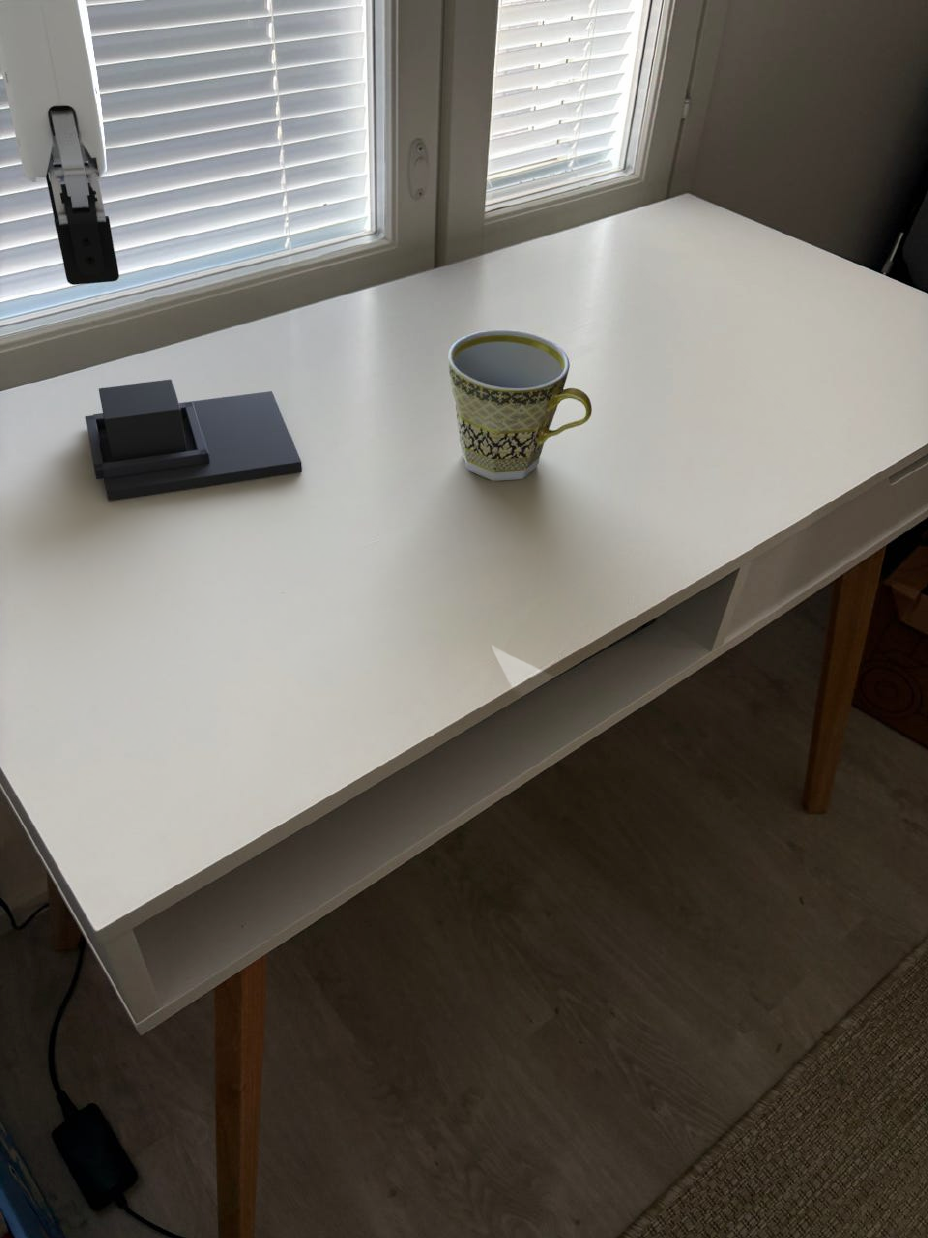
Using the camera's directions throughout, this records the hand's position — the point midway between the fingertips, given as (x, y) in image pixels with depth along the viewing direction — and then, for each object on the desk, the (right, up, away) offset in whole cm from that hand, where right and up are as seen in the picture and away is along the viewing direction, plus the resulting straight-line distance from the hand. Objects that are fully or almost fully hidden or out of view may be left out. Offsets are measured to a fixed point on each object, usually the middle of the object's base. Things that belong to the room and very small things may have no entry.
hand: (86, 250), depth 68 cm
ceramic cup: (+30, -12, +21) cm, 38 cm away
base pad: (+2, -10, +20) cm, 22 cm away
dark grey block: (-1, -10, +18) cm, 21 cm away
